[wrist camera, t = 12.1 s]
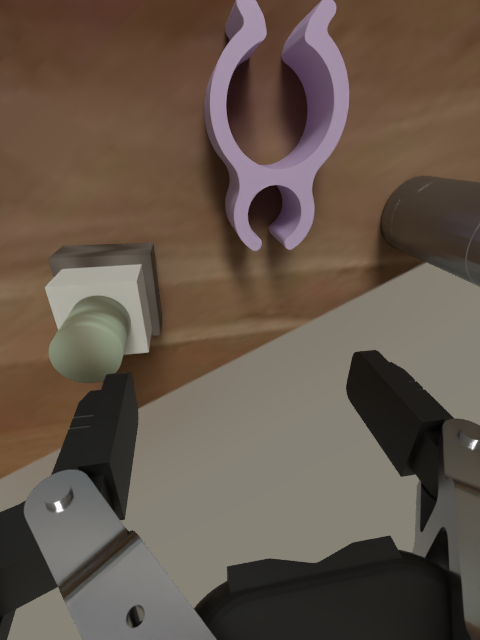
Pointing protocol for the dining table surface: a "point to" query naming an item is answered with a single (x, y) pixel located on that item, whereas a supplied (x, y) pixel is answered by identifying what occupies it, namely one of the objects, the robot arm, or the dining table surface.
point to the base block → (116, 257)
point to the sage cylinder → (91, 340)
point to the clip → (319, 134)
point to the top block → (111, 283)
